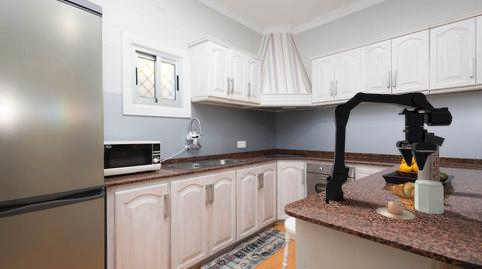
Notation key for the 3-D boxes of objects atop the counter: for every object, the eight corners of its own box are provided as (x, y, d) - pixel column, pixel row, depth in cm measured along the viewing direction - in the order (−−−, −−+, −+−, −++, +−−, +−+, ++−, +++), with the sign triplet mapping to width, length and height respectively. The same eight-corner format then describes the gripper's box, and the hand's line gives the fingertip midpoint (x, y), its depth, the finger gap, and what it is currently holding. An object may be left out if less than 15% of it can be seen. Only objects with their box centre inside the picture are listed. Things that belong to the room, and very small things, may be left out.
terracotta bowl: (390, 214, 73) (390, 203, 73) (386, 210, 77) (386, 200, 77) (404, 215, 72) (404, 204, 72) (399, 211, 76) (399, 201, 76)
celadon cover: (421, 216, 74) (421, 183, 74) (412, 209, 81) (411, 179, 81) (447, 218, 72) (447, 184, 72) (435, 211, 79) (435, 180, 79)
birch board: (381, 221, 71) (381, 217, 71) (372, 209, 81) (372, 206, 81) (422, 224, 67) (422, 220, 67) (407, 212, 78) (407, 209, 78)
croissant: (447, 213, 86) (453, 194, 88) (434, 204, 83) (440, 184, 84) (392, 198, 106) (397, 182, 107) (379, 190, 102) (385, 174, 104)
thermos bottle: (444, 193, 101) (443, 132, 101) (424, 193, 102) (423, 132, 102) (432, 189, 109) (431, 132, 109) (414, 188, 110) (413, 132, 110)
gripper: (457, 125, 71) (457, 173, 71) (427, 126, 89) (427, 165, 89) (416, 126, 75) (416, 172, 75) (395, 127, 93) (395, 164, 93)
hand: (414, 168), depth 83 cm, fingers open, 9 cm apart
